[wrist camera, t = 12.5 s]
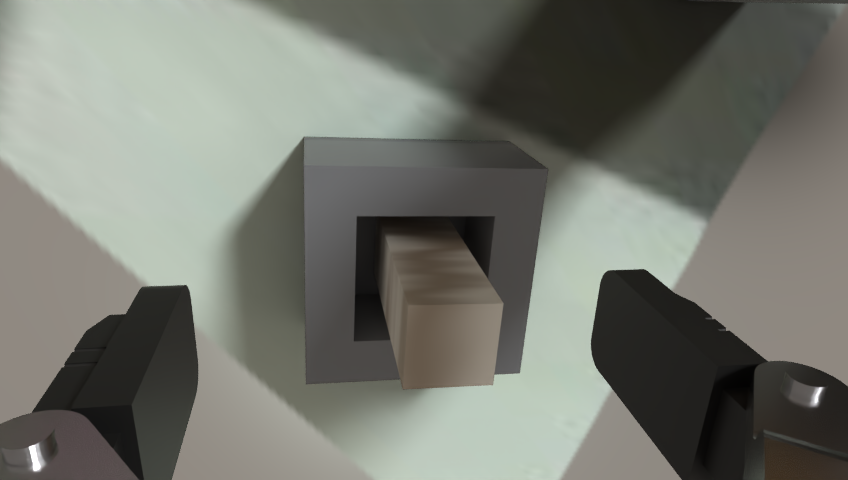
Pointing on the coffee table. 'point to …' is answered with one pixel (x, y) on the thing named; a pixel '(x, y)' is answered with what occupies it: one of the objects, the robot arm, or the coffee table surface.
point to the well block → (410, 196)
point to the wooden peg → (435, 303)
